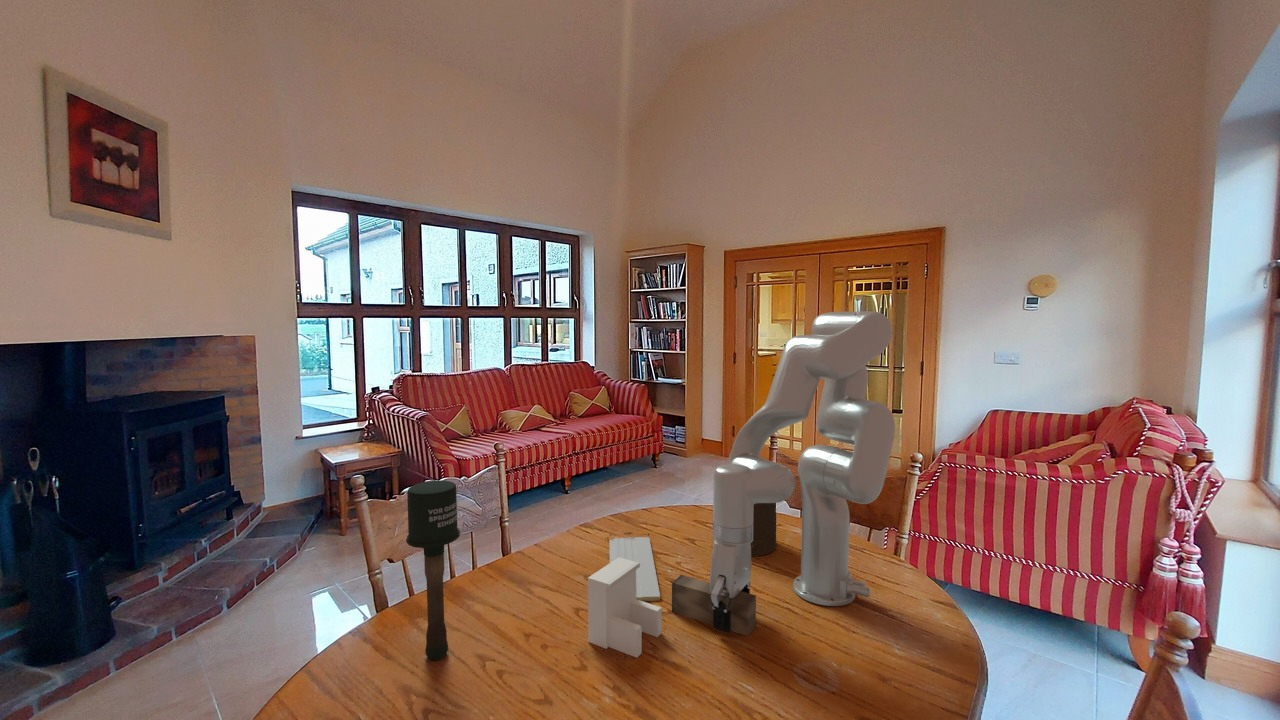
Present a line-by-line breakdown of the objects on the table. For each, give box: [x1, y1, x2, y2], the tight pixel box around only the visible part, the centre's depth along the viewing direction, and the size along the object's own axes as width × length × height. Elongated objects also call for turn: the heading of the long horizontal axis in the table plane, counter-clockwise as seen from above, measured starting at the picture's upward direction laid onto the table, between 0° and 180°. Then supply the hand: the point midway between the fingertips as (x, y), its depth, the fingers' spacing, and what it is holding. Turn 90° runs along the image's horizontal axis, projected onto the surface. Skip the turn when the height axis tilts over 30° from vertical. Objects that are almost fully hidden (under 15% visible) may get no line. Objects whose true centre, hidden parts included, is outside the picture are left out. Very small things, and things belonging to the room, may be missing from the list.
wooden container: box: [751, 503, 777, 557], centre depth 140 cm, size 15×15×22 cm
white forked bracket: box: [587, 557, 663, 658], centre depth 99 cm, size 10×10×12 cm
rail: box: [671, 574, 757, 637], centre depth 105 cm, size 16×4×6 cm, turn 58°
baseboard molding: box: [604, 531, 661, 602], centre depth 128 cm, size 31×3×12 cm
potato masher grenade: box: [405, 480, 461, 661], centre depth 93 cm, size 8×9×30 cm
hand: (732, 617), depth 103 cm, fingers open, 9 cm apart
